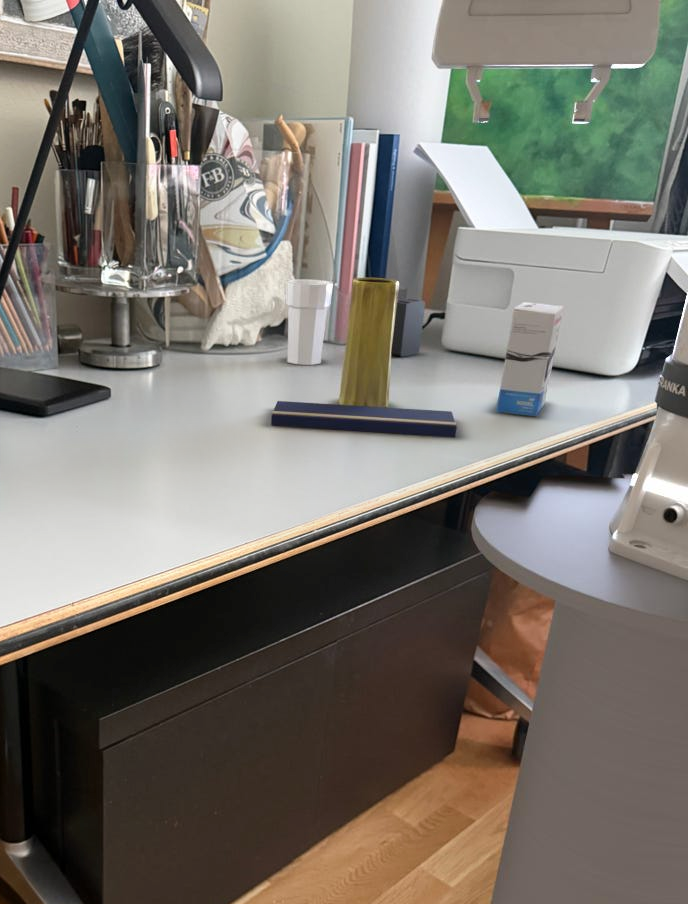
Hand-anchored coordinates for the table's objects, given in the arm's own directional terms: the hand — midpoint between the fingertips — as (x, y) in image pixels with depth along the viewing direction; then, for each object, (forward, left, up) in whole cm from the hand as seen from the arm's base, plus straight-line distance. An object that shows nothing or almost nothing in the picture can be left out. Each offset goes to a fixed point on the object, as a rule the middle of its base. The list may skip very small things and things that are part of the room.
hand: (529, 122), depth 91 cm
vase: (+13, +7, -30) cm, 34 cm away
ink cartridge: (+42, -17, -30) cm, 54 cm away
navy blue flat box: (+6, +12, -30) cm, 33 cm away
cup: (+41, +1, -30) cm, 51 cm away
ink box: (+7, -11, -30) cm, 33 cm away
